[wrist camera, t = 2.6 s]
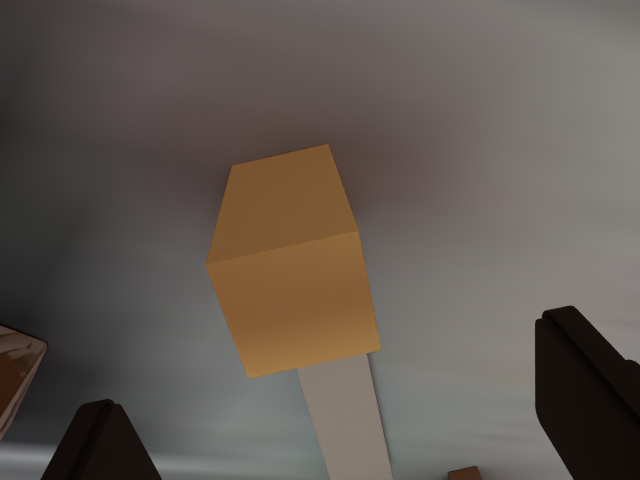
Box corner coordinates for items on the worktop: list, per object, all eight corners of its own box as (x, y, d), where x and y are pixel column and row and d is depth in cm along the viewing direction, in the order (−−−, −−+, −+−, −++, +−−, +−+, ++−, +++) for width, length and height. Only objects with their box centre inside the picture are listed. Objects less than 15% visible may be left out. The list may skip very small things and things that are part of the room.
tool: (232, 165, 19) (205, 264, 12) (328, 143, 19) (358, 230, 12) (328, 475, 28) (345, 635, 21) (393, 461, 28) (432, 617, 21)
